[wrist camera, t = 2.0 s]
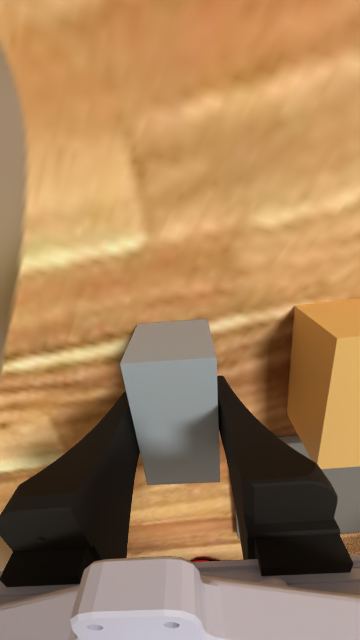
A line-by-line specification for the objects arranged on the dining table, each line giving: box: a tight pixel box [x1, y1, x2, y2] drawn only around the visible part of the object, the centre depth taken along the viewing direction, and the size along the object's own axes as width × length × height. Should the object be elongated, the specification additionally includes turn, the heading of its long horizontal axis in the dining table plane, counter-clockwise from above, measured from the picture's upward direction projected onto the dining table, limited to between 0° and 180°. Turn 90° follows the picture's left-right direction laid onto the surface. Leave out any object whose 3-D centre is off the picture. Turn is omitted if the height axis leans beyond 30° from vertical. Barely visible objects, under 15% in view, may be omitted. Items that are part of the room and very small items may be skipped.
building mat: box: [235, 435, 360, 538], centre depth 19 cm, size 12×12×1 cm
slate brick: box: [120, 319, 220, 485], centre depth 13 cm, size 4×8×4 cm, turn 5°
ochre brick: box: [287, 298, 360, 469], centre depth 12 cm, size 4×8×4 cm, turn 7°
